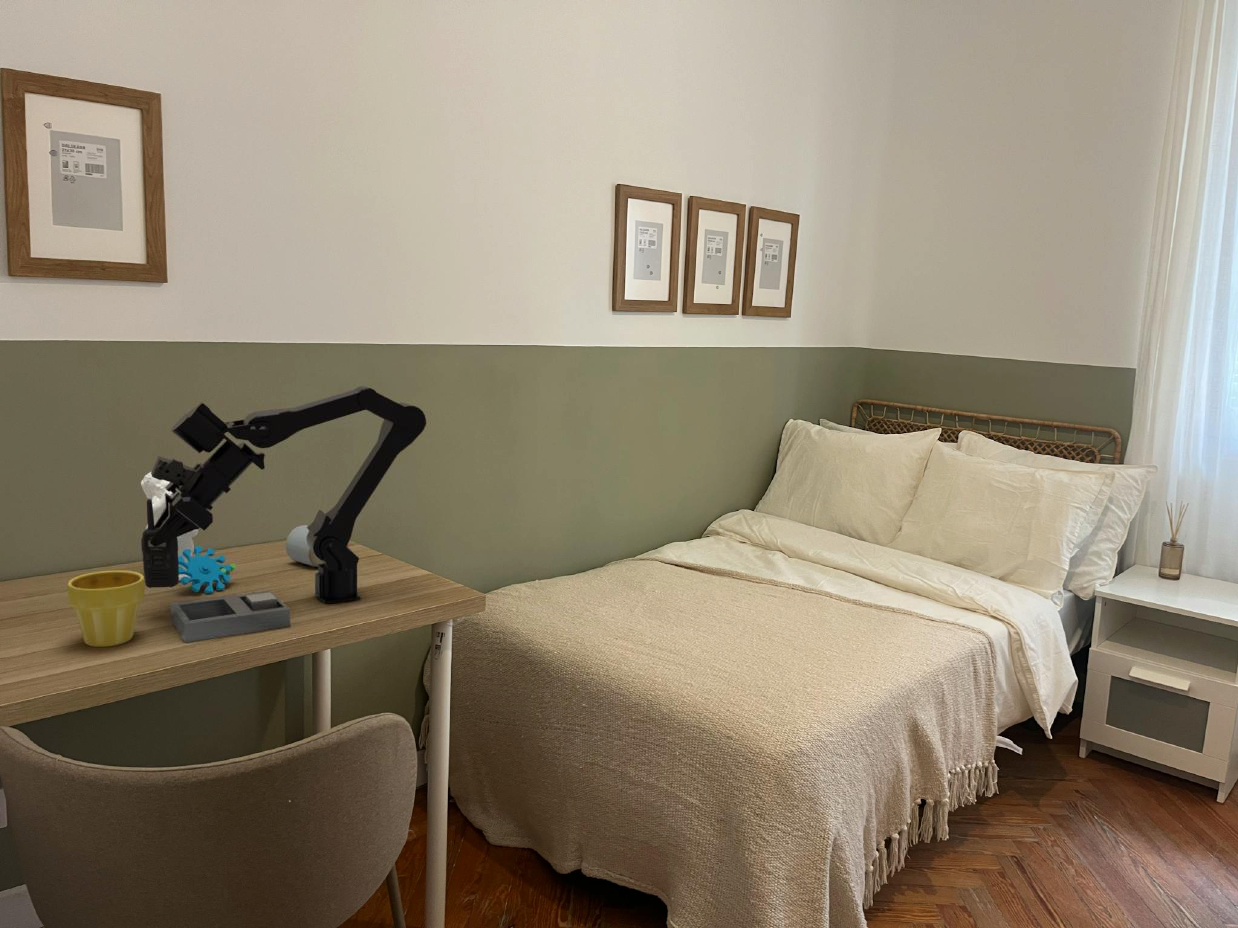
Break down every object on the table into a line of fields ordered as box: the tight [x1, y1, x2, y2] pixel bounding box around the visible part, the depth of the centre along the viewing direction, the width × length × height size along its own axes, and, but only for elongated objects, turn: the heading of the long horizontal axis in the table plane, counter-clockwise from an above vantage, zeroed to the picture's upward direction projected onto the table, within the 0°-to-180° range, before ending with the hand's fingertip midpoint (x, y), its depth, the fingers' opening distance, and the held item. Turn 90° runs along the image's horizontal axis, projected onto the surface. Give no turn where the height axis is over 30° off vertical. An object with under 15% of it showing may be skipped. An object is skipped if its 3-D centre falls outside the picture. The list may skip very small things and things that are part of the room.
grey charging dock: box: [169, 590, 291, 643], centre depth 154 cm, size 16×12×3 cm
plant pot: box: [66, 570, 146, 648], centre depth 144 cm, size 10×10×10 cm
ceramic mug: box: [285, 524, 323, 568], centre depth 193 cm, size 11×8×8 cm
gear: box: [178, 545, 237, 595], centre depth 173 cm, size 11×6×10 cm
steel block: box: [246, 592, 278, 611], centre depth 157 cm, size 4×4×4 cm
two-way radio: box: [140, 498, 180, 589], centre depth 155 cm, size 6×4×15 cm
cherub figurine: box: [140, 471, 200, 582], centre depth 179 cm, size 12×12×22 cm
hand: (151, 541), depth 154 cm, fingers closed on two-way radio, 5 cm apart
